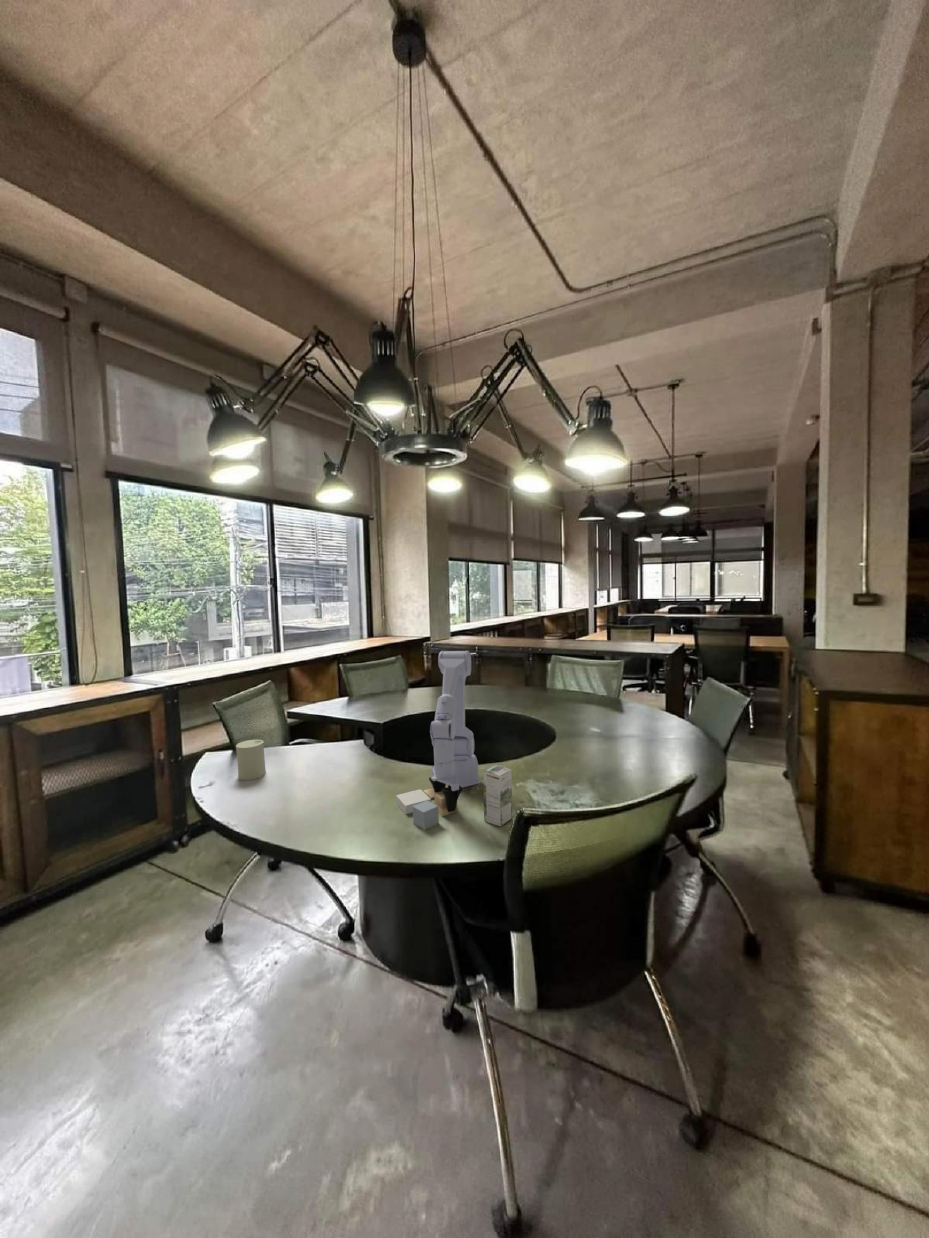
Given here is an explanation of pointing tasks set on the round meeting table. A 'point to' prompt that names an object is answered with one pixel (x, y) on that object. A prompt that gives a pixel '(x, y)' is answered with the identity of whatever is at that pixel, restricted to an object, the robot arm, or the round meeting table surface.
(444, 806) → the maple cube
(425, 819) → the slate cube
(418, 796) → the base block
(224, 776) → the round meeting table surface
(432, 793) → the tile
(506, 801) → the syrup box
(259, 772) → the can
